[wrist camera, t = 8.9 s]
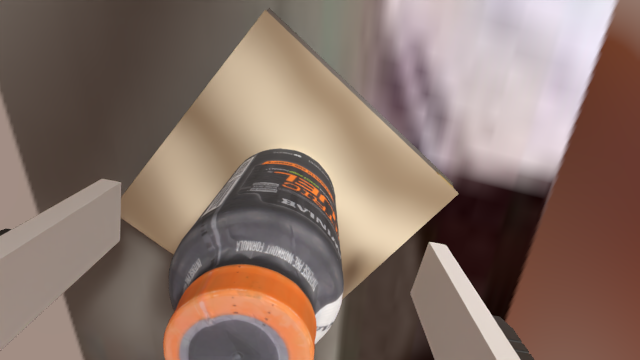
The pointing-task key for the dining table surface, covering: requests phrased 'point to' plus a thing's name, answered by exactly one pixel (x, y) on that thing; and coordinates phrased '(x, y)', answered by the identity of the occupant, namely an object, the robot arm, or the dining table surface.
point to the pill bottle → (259, 266)
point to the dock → (295, 134)
